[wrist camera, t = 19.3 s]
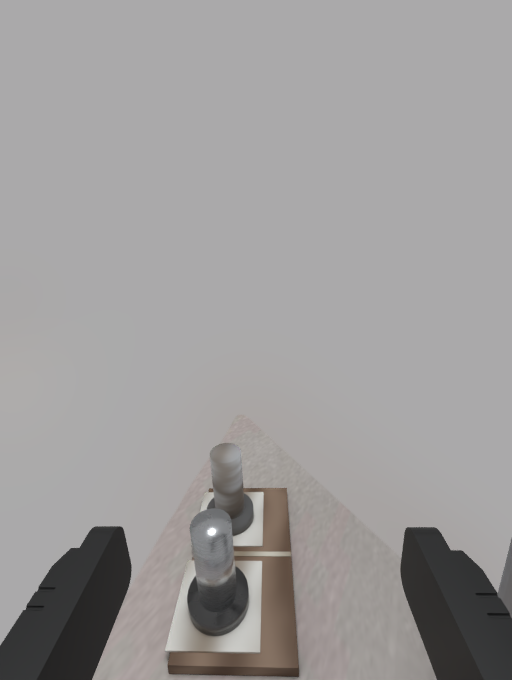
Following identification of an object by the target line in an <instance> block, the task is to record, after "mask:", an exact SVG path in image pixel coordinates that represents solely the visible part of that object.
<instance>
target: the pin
mask: <svg viewBox="0 0 512 680" xmlns="http://www.w3.org/2000/svg"><path fill="white" fill-rule="evenodd" d="M190 534H191V541H192V549H193V556H194V564H195V571H196V576H195V577H194V579H193V580H192V582H191V584H190V586H189V590H188V594H187V603H188V610H189V615H190V619H191V622H192V623H193V625H194V626H195V628H196V629H197V630H198V631H200V632H201V633H203V634H205V635H208V636H222V635H225V634H228V633H229V632H231V631H233V630H234V629H235V628H237V627H238V626H239V624H240V623H241V622H242V621H243V619H244V617H245V615H246V613H247V610H248V606H249V590H248V583H247V579H246V577H245V575H244V573H243V572H242V571H241V570H240V569H239V568H238V567H236V566H235V559H234V547H233V535H232V523H231V518H230V516H229V514H228V513H227V512H225V511H224V510H221V509H216V508H212V509H207V510H204V511H202V512H200V513H199V514H197V515H196V516H195V517H194V519H193V520H192V522H191V525H190Z"/></svg>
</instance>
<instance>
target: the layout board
mask: <svg viewBox="0 0 512 680" xmlns="http://www.w3.org/2000/svg"><path fill="white" fill-rule="evenodd" d="M210 462H211V471H212V481H213V489H209V492H205V493H204V497H203V501H202V505H201V509H200V512H202V511H204V510H207V509H212V508H216V509H221V510H224V511H225V512H227V513H228V514H229V516H230V518H231V523H232V535H233V547H234V559H235V566H236V567H238V568H239V569H240V570H241V571H242V572H243V573H244V575H245V577H246V579H247V583H248V590H249V606H248V610H247V613H246V615H245V617H244V619H243V621H242V622H241V623H240V624H239V626H238V627H237V628H235V629H234V630H233V631H231V632H229V633H228V634H225V635H222V636H208V635H205V634H203V633H201V632H200V631H198V630H197V629H196V628H195V626H194V625H193V623H192V622H191V619H190V615H189V610H188V603H187V594H188V590H189V586H190V584H191V582H192V580H193V579H194V577H195V576H196V571H195V564H194V556H193V559H192V561H187V565H186V569H185V573H184V577H183V581H182V585H181V589H180V593H179V597H178V601H177V605H176V609H175V613H174V617H173V621H172V625H171V629H170V633H169V637H168V641H167V645H166V649H165V652H170V657H169V661H168V671H169V674H208V675H253V676H298V677H299V665H298V650H297V635H296V620H295V606H294V591H293V576H292V561H291V547H290V532H289V517H288V502H287V488H243V476H242V461H241V450H240V448H239V447H238V446H237V445H235V444H232V443H223V444H219V445H217V446H215V447H214V448H213V449H212V450H211V451H210ZM191 546H192V545H191Z"/></svg>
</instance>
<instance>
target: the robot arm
mask: <svg viewBox="0 0 512 680" xmlns="http://www.w3.org/2000/svg"><path fill="white" fill-rule="evenodd" d="M130 578H131V561H130V557H129V552H128V547H127V543H126V538H125V534H124V530H123V528H122V527H94V528H92V529H91V530H90V532H89V533H88V535H87V537H86V538H85V540H84V542H83V543H82V545H81V546H80V548H71V549H70V550H69V551H68V552H67V553H66V554H65V555H63V556H62V557H61V558H60V559H59V560H58V561H57V562H56V563H55V564H54V565H53V566H52V567H51V569H50V570H49V572H48V574H47V575H46V577H45V578H44V580H43V581H42V583H41V584H40V586H39V589H38V591H37V592H35V593H34V595H33V596H32V598H31V600H30V601H29V603H28V604H27V608H26V610H23V612H22V613H21V615H20V616H19V618H18V620H17V621H16V623H15V624H14V626H13V627H12V629H11V630H10V632H9V633H8V635H7V636H6V638H5V640H4V641H3V642H2V644H1V645H0V680H92V678H93V676H94V673H95V671H96V668H97V666H98V663H99V661H100V658H101V656H102V653H103V650H104V648H105V645H106V643H107V640H108V638H109V635H110V633H111V630H112V628H113V625H114V623H115V620H116V618H117V615H118V613H119V610H120V608H121V605H122V603H123V600H124V598H125V595H126V593H127V590H128V587H129V583H130ZM401 579H402V585H403V589H404V592H405V595H406V598H407V601H408V603H409V606H410V609H411V611H412V614H413V617H414V619H415V622H416V624H417V627H418V630H419V632H420V635H421V638H422V640H423V643H424V646H425V648H426V651H427V654H428V656H429V659H430V662H431V664H432V667H433V670H434V672H435V675H436V678H437V680H512V539H511V543H510V547H509V551H508V555H507V559H506V563H505V567H504V571H503V575H502V579H501V583H500V587H499V591H498V595H497V592H496V590H495V589H494V587H493V586H492V584H491V583H490V581H489V579H488V578H487V576H486V575H485V573H484V571H483V570H482V569H481V568H480V567H479V566H478V565H477V564H476V563H475V562H474V561H473V560H472V559H471V558H469V557H468V556H467V555H466V554H465V553H464V552H463V551H451V550H450V548H449V547H448V545H447V543H446V541H445V540H444V538H443V536H442V534H441V533H440V532H439V530H438V529H437V528H434V527H433V528H432V527H431V528H427V527H424V528H423V527H421V528H420V527H418V528H417V527H416V528H415V527H414V528H409V527H408V528H406V530H405V535H404V543H403V552H402V559H401Z"/></svg>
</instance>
